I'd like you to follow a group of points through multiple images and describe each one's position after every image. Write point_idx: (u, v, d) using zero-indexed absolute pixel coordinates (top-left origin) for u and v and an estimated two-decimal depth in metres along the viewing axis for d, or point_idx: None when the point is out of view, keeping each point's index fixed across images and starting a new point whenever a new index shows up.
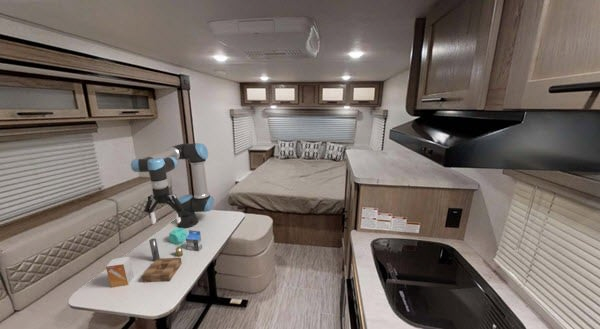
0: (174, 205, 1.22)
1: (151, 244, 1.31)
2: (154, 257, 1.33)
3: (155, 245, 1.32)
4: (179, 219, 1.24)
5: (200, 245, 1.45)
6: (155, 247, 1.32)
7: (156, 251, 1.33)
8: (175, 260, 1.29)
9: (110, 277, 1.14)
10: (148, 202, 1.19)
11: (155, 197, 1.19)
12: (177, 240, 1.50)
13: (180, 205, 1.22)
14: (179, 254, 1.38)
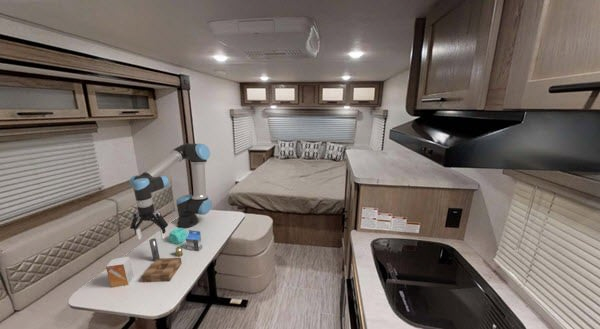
0: (158, 222, 1.29)
1: (151, 244, 1.31)
2: (154, 257, 1.33)
3: (155, 245, 1.32)
4: (163, 235, 1.31)
5: (200, 245, 1.45)
6: (155, 247, 1.32)
7: (156, 251, 1.33)
8: (175, 260, 1.29)
9: (110, 277, 1.14)
10: (134, 219, 1.27)
11: (140, 215, 1.26)
12: (177, 240, 1.50)
13: (164, 222, 1.29)
14: (179, 254, 1.38)
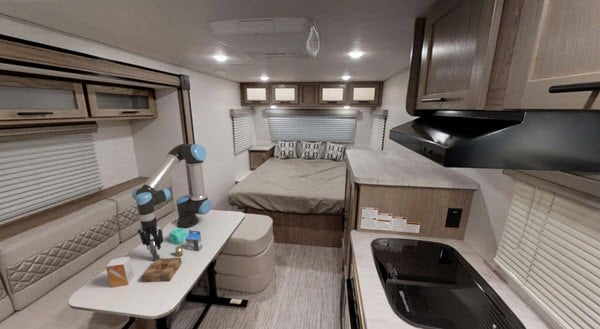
0: (157, 238, 1.32)
1: (151, 244, 1.31)
2: (154, 257, 1.33)
3: None
4: (159, 251, 1.34)
5: (200, 245, 1.45)
6: None
7: None
8: (175, 260, 1.29)
9: (110, 277, 1.14)
10: (141, 235, 1.30)
11: (143, 228, 1.29)
12: (177, 240, 1.50)
13: (161, 238, 1.32)
14: (179, 254, 1.38)
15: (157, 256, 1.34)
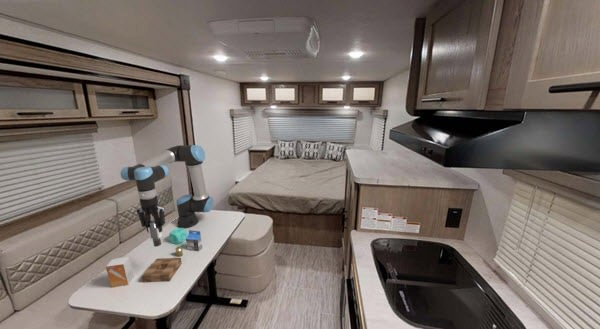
0: (158, 219, 1.17)
1: (151, 226, 1.16)
2: (155, 241, 1.18)
3: None
4: (160, 234, 1.19)
5: (200, 245, 1.45)
6: None
7: None
8: (175, 260, 1.29)
9: (110, 277, 1.14)
10: (140, 215, 1.15)
11: (142, 207, 1.14)
12: (177, 240, 1.50)
13: (163, 220, 1.17)
14: (179, 254, 1.38)
15: (158, 240, 1.19)
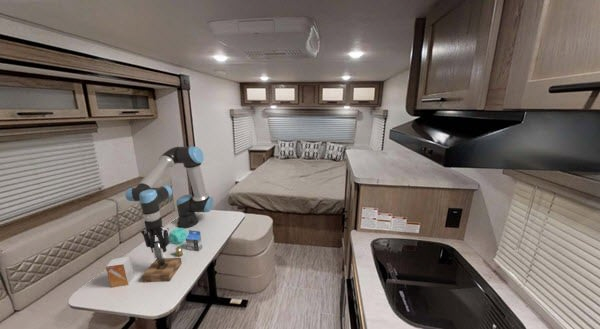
0: (162, 239, 1.20)
1: (156, 247, 1.19)
2: (159, 261, 1.22)
3: None
4: (164, 254, 1.23)
5: (200, 245, 1.45)
6: (160, 250, 1.21)
7: None
8: (175, 260, 1.29)
9: (110, 277, 1.14)
10: (144, 236, 1.18)
11: (147, 229, 1.17)
12: (177, 240, 1.50)
13: (167, 240, 1.20)
14: (179, 254, 1.38)
15: (162, 260, 1.22)
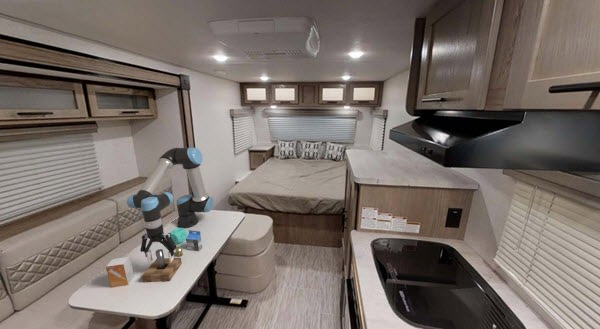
0: (167, 244, 1.21)
1: (158, 255, 1.21)
2: None
3: (162, 256, 1.22)
4: (172, 258, 1.23)
5: (200, 245, 1.45)
6: (162, 259, 1.22)
7: (163, 263, 1.23)
8: (175, 260, 1.29)
9: (110, 277, 1.14)
10: (143, 241, 1.19)
11: (149, 236, 1.18)
12: (177, 240, 1.50)
13: (173, 244, 1.21)
14: (179, 254, 1.38)
15: (164, 268, 1.24)
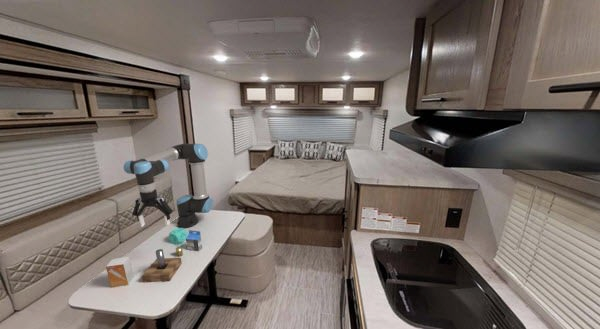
0: (162, 208, 1.22)
1: (158, 255, 1.21)
2: None
3: (162, 256, 1.22)
4: (168, 222, 1.25)
5: (200, 245, 1.45)
6: (162, 259, 1.22)
7: (163, 263, 1.23)
8: (175, 260, 1.29)
9: (110, 277, 1.14)
10: (136, 205, 1.19)
11: (143, 200, 1.19)
12: (177, 240, 1.50)
13: (168, 208, 1.22)
14: (179, 254, 1.38)
15: (164, 268, 1.24)
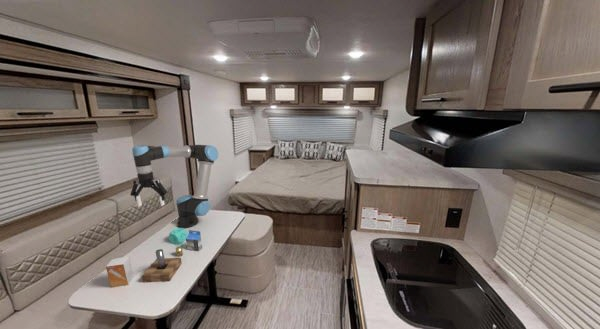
0: (158, 189, 1.32)
1: (158, 255, 1.21)
2: None
3: (162, 256, 1.22)
4: (163, 202, 1.35)
5: (200, 245, 1.45)
6: (162, 259, 1.22)
7: (163, 263, 1.23)
8: (175, 260, 1.29)
9: (110, 277, 1.14)
10: (134, 186, 1.30)
11: (140, 181, 1.30)
12: (177, 240, 1.50)
13: (163, 189, 1.33)
14: (179, 254, 1.38)
15: (164, 268, 1.24)
